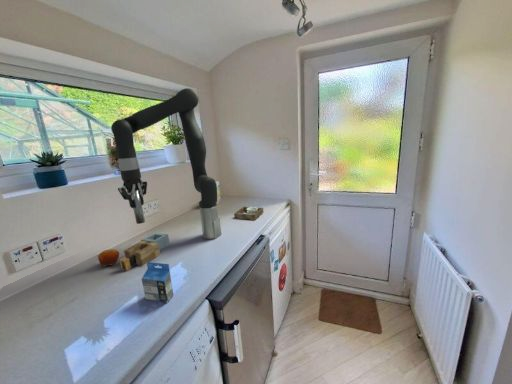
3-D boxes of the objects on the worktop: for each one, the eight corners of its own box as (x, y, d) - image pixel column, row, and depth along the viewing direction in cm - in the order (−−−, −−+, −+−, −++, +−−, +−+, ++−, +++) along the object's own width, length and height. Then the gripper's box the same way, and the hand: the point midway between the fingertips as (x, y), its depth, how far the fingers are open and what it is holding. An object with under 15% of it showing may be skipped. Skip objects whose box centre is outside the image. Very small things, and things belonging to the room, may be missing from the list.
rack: (169, 243, 120) (168, 234, 118) (156, 252, 112) (154, 241, 110) (156, 241, 123) (154, 232, 122) (142, 249, 115) (140, 239, 114)
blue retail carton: (144, 300, 78) (138, 268, 75) (152, 292, 82) (146, 261, 79) (167, 303, 76) (162, 270, 73) (174, 295, 80) (169, 263, 77)
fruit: (97, 269, 96) (95, 251, 98) (101, 270, 103) (99, 253, 105) (119, 264, 100) (116, 246, 102) (121, 265, 107) (119, 248, 109)
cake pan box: (212, 208, 175) (210, 186, 171) (206, 208, 176) (204, 186, 172) (221, 201, 193) (219, 181, 189) (215, 201, 194) (213, 181, 190)
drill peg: (146, 221, 105) (140, 189, 102) (140, 224, 102) (133, 191, 99) (141, 220, 107) (134, 189, 103) (134, 223, 104) (127, 191, 100)
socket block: (159, 254, 109) (157, 243, 107) (142, 265, 100) (140, 253, 98) (144, 251, 113) (142, 240, 111) (126, 262, 104) (123, 250, 102)
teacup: (252, 211, 163) (251, 205, 162) (262, 214, 156) (262, 207, 155) (242, 215, 156) (241, 209, 155) (252, 218, 149) (252, 212, 148)
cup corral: (263, 212, 159) (263, 207, 158) (255, 220, 146) (255, 215, 145) (243, 211, 165) (243, 206, 164) (234, 218, 151) (234, 213, 150)
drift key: (142, 260, 104) (140, 251, 103) (126, 270, 97) (124, 260, 95) (137, 259, 105) (135, 250, 104) (121, 269, 98) (119, 259, 97)
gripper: (121, 171, 91) (130, 212, 95) (149, 165, 103) (155, 202, 108) (108, 171, 93) (117, 211, 98) (136, 166, 106) (143, 201, 110)
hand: (137, 206), depth 103 cm, fingers closed on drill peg, 3 cm apart
